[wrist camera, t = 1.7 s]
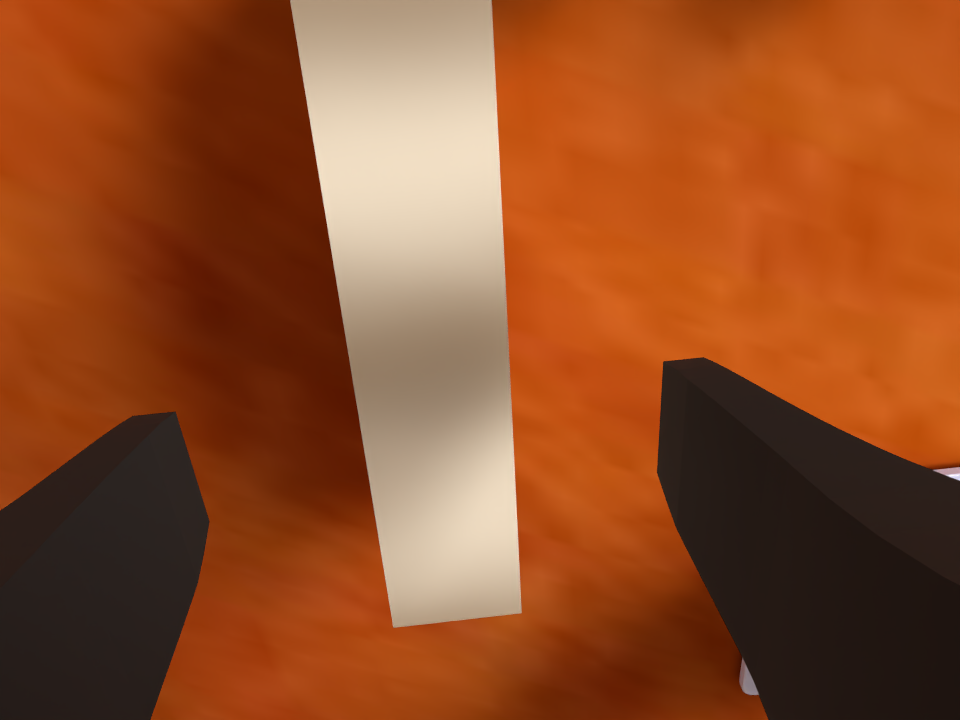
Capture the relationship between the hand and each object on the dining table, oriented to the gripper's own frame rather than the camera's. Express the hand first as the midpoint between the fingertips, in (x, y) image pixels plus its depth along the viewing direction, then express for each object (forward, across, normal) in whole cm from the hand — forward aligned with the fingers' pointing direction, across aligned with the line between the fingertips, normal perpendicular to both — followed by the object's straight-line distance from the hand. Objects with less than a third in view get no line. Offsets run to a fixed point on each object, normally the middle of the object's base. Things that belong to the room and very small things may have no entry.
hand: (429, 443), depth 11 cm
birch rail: (+9, 0, 0) cm, 9 cm away
